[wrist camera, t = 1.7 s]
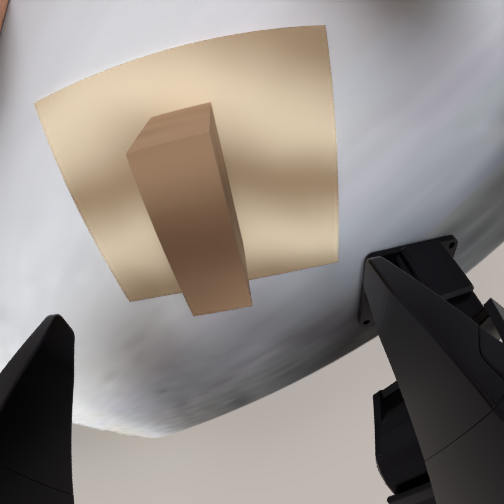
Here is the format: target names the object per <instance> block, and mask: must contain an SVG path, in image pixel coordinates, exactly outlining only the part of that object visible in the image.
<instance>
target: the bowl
mask: <svg viewBox="0 0 504 504" xmlns="http://www.w3.org/2000/svg"><path fill="white" fill-rule="evenodd" d="M8 1H9V0H0V32H1V27H2V23H3V19H4V15H5V12H6V8H7V5H8Z"/></svg>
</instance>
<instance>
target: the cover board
mask: <svg viewBox="0 0 504 504" xmlns="http://www.w3.org/2000/svg"><path fill="white" fill-rule="evenodd" d="M34 104H35V107H36V110H37V113H38V116H39V119H40V121H41V124H42V127H43V130H44V132H45V135H46V137H47V140H48V143H49V145H50V148H51V150H52V152H53V155H54V157H55V160H56V162H57V164H58V167H59V169H60V171H61V174H62V176H63V178H64V180H65V183H66V185H67V187H68V189H69V191H70V193H71V196H72V198H73V200H74V202H75V204H76V206H77V208H78V210H79V212H80V214H81V216H82V218H83V220H84V222H85V224H86V226H87V228H88V230H89V232H90V234H91V236H92V238H93V239H94V241H95V243H96V245H97V247H98V249H99V251H100V252H101V254H102V256H103V258H104V260H105V261H106V263H107V265H108V267H109V268H110V270H111V272H112V273H113V275H114V277H115V279H116V280H117V282H118V284H119V285H120V287H121V289H122V290H123V292H124V294H125V295H126V297H127V298H128V300H129V302H131V301H136V300H142V299H148V298H154V297H160V296H165V295H171V294H177V293H183V295H184V297H185V299H186V302H187V304H188V306H189V308H190V310H191V312H192V314H193V316H198V315H204V314H210V313H216V312H221V311H227V310H233V309H238V308H243V307H249V306H252V300H251V293H250V287H249V280H252V279H257V278H262V277H267V276H272V275H277V274H282V273H287V272H292V271H297V270H302V269H306V268H311V267H316V266H321V265H326V264H330V263H335V262H338V169H337V145H336V128H335V113H334V100H333V88H332V78H331V68H330V59H329V50H328V42H327V34H326V27H325V25H319V26H301V27H288V28H278V29H269V30H261V31H254V32H247V33H241V34H235V35H229V36H223V37H218V38H213V39H209V40H204V41H199V42H195V43H191V44H187V45H183V46H179V47H175V48H171V49H168V50H164V51H161V52H157V53H154V54H151V55H148V56H144V57H141V58H138V59H135V60H132V61H129V62H126V63H124V64H121V65H118V66H115V67H113V68H110V69H107V70H105V71H102V72H100V73H97V74H95V75H92V76H90V77H88V78H85V79H83V80H81V81H78V82H76V83H74V84H72V85H70V86H67V87H65V88H63V89H61V90H59V91H57V92H55V93H53V94H51V95H49V96H47V97H45V98H43V99H41V100H39V101H37V102H36V103H34Z"/></svg>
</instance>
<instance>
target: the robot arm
mask: <svg viewBox="0 0 504 504" xmlns="http://www.w3.org/2000/svg"><path fill="white" fill-rule="evenodd" d="M457 244H458V241H457V239H456V238H455V237H454V236H453V235H449V236H445V237H440V238H436V239H432V240H427V241H423V242H418V243H414V244H410V245H405V246H401V247H396V248H391V249H387V250H382V251H378V252H374V253H371V254H370V255H369V256H368V257H367V259H366V264H365V272H364V283H363V290H362V297H361V304H360V311H359V317H358V322H359V324H360V326H361V327H366V326H370V325H374V324H376V328H377V331H378V334H379V337H380V339H381V342H382V345H383V347H384V350H385V352H386V354H387V357H388V359H389V362H390V364H391V367H392V369H393V372H394V374H395V377H396V380H397V381H395V382H394V383H393V384H391V385H390V386H388V387H387V388H385V389H384V390H380V391H378V392H377V393H376V394H374V395H373V404H374V423H375V456H376V464H377V468H378V471H379V473H380V475H381V477H382V478H383V480H384V482H385V484H386V485H387V486H388V488H389V489H390V490H391V491H392V492H393V493H394V494H395V495H392V496H389V497H388V499H387V502H388V503H389V504H504V308H503V307H502V306H501V305H499V304H498V303H497V302H496V301H494V300H493V299H492V298H490V299H489V300H488V301H487V302H486V303H485V304H484V307H483V305H482V304H481V302H480V301H479V299H478V298H477V296H476V295H475V293H474V292H473V289H474V287H473V285H472V283H471V282H470V280H469V279H468V278H467V276H466V275H465V274H464V272H463V271H462V270H461V268H460V267H459V266H458V264H457V263H456V262H455V260H454V259H453V257H454V254H455V250H456V247H457ZM500 339H502V341H503V342H501V341H499V340H500ZM74 343H75V336H74V332H73V330H72V329H71V327H70V326H69V325H68V324H67V322H66V321H65V320H64V319H63V317H62V316H61V315H59V314H54V315H49V316H47V317H46V318H45V319H44V321H43V322H42V323H41V324H40V325H39V326H38V327H37V329H36V330H35V331H34V332H33V333H32V334H31V336H30V337H29V338H28V339H27V340H26V342H25V343H24V344H23V345H22V346H21V348H20V349H19V350H18V351H17V353H16V354H15V355H14V356H13V357H12V359H11V360H10V361H9V362H8V364H7V365H6V366H5V368H4V369H3V370H2V371H1V373H0V504H74V495H73V484H72V458H71V457H72V456H71V431H72V430H71V429H72V404H73V388H74Z"/></svg>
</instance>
